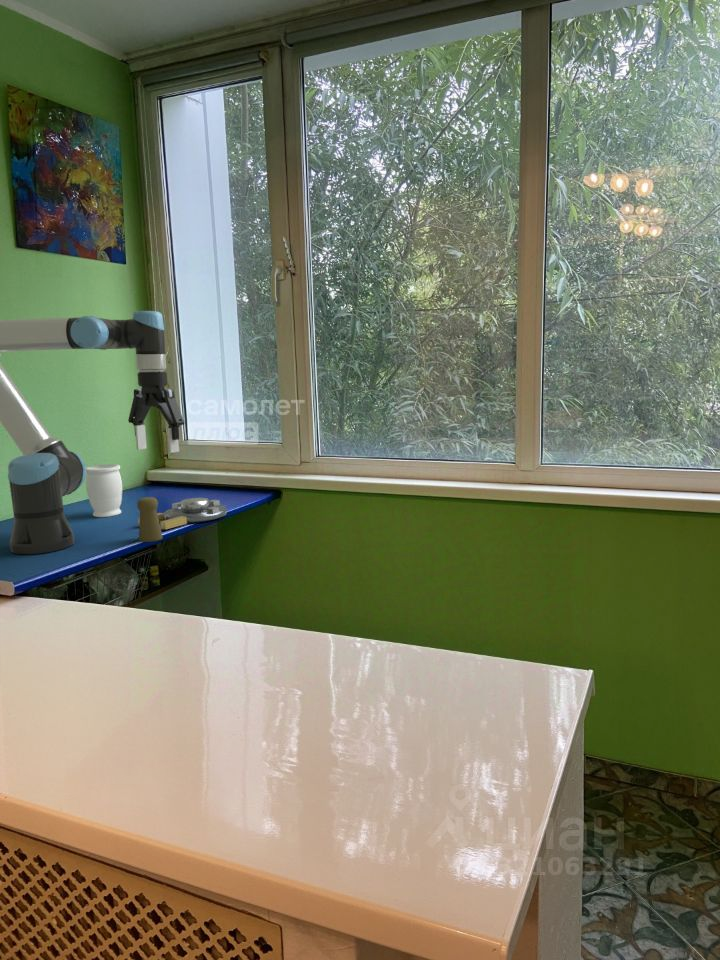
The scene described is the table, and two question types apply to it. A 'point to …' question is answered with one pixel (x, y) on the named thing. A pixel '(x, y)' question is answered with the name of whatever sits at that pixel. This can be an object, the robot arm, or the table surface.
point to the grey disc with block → (191, 512)
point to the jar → (104, 489)
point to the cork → (149, 520)
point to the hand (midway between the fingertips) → (157, 450)
